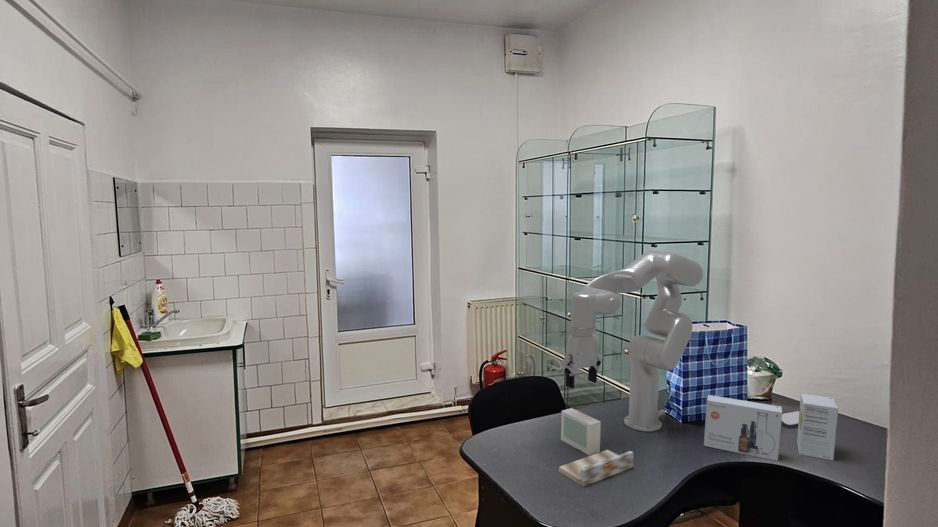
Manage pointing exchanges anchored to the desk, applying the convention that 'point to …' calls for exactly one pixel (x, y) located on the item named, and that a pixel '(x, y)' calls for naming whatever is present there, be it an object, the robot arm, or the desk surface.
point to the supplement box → (817, 426)
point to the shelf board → (597, 467)
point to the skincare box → (743, 427)
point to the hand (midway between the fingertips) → (581, 384)
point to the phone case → (790, 419)
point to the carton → (580, 431)
